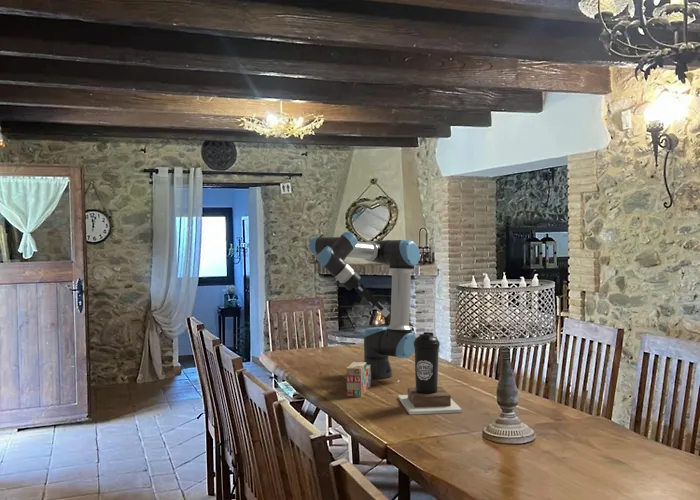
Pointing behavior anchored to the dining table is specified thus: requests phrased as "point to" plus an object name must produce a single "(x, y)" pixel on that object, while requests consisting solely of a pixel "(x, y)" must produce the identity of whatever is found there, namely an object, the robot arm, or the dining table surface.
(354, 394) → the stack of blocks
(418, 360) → the water bottle
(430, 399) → the plinth
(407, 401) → the base board
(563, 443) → the dining table surface
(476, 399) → the dining table surface
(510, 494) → the dining table surface
